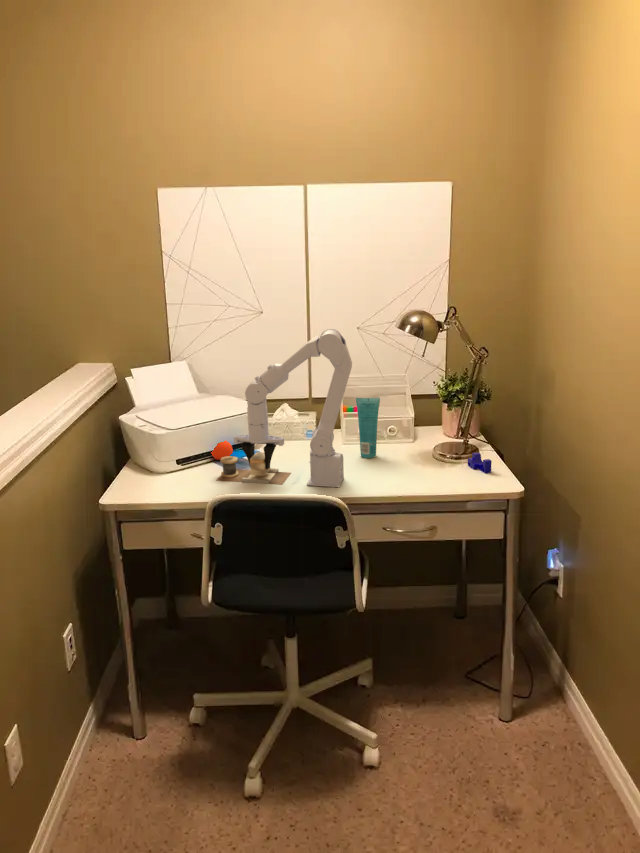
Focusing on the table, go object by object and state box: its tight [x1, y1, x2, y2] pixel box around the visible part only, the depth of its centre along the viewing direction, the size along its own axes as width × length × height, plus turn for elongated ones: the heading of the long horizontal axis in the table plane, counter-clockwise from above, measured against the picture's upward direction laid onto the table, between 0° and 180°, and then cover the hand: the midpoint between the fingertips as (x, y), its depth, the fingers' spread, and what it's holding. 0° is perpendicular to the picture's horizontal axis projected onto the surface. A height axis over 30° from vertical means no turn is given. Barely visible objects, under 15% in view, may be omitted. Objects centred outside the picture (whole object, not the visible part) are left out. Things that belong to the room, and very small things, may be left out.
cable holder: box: [467, 452, 492, 474], centre depth 221 cm, size 8×4×4 cm, turn 17°
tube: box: [355, 397, 381, 459], centre depth 232 cm, size 7×5×19 cm, turn 91°
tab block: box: [249, 451, 271, 476], centre depth 214 cm, size 4×6×5 cm
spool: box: [219, 455, 239, 478], centre depth 216 cm, size 5×5×5 cm
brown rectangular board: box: [215, 467, 292, 486], centre depth 215 cm, size 20×10×2 cm, turn 77°
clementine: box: [210, 440, 234, 460], centre depth 232 cm, size 8×7×7 cm
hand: (260, 467), depth 214 cm, fingers closed on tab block, 4 cm apart
